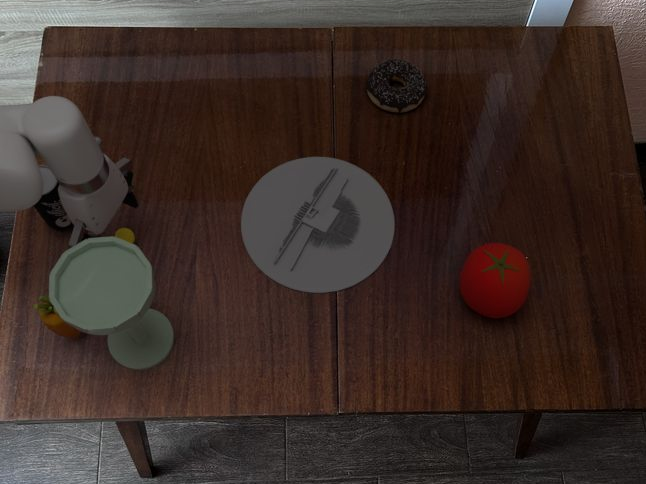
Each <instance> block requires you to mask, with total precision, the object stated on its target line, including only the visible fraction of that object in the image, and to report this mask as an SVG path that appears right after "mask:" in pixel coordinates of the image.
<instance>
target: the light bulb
mask: <svg viewBox="0 0 646 484" xmlns="http://www.w3.org/2000/svg"><path fill="white" fill-rule="evenodd" d="M114 237H117V238H120V239H122V240H125V241H127V242H129V243H132V244H134V245H135V240H136V236H135V233H134V232H133V230H132V229H130V228H127V227H121V228H119V229H117V230H116V231H115V233H114Z"/></svg>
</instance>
